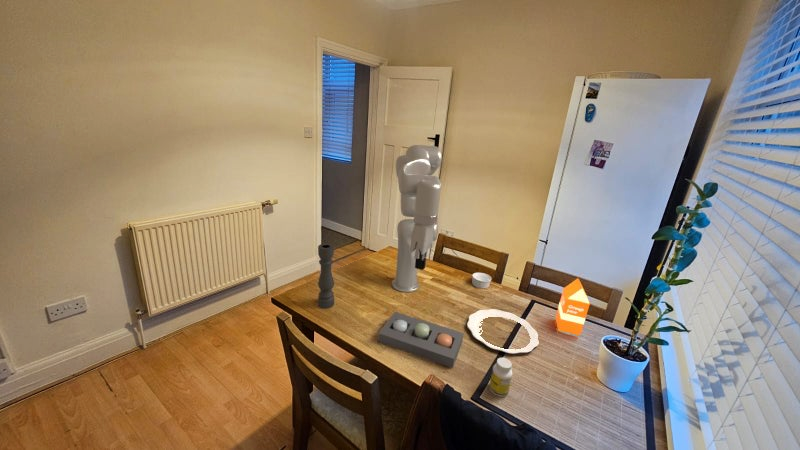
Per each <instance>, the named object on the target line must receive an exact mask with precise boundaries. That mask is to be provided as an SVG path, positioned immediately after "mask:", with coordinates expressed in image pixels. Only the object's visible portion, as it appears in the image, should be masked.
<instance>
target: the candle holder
mask: <svg viewBox="0 0 800 450" xmlns="http://www.w3.org/2000/svg"><path fill="white" fill-rule="evenodd" d="M317 250H318V251H317V255H318V257H319V259H320V260H319V259H318V260H319V261H318V264H319V265H320V274H319V278H318V282H317V285H318V288H319V290H320V292H319V293H318V296H317V297H318V298H317V305H318V307H319V308H320V309H322V310H327V309H331V308H333V307H334V306H335V296H334V294H335V293H334V291H333V288H334V286H335V281H334V278H333V277H334V276H333V273H332V265H333V264H334V260H333V259H332V258H333V257H334V254H335V246H334V244H332V243H320V244H319V245H318V246H317Z"/></svg>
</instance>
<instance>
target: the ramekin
mask: <svg viewBox="0 0 800 450" xmlns="http://www.w3.org/2000/svg"><path fill="white" fill-rule="evenodd" d="M471 278H472V280H471V283H472V285H473V287H476V288H478V289H482V288H483V289H484V288H485V289H487V288H489V287H490V285H491V282H492V276H490V275H489V274H488V273H487V274H486V273H483V272H474V273H472V275H471Z"/></svg>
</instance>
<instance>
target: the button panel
mask: <svg viewBox="0 0 800 450" xmlns="http://www.w3.org/2000/svg"><path fill="white" fill-rule="evenodd" d="M396 320H404V321H405V322H406V323H407V331H406V332H405V333H402V332H399V331H396V330H393V323H394V321H396ZM419 323H424V324H426V325H428V326H429V336H428V338H427V339H424V340H423V339H420V338H417V337H415V326H416V325H417V324H419ZM439 334H448V335H449V336H451V338H452V344H451V349H450V348H447V347H444V346H441V345H438V344H437V337H438V335H439ZM377 335H378V336H377V342H378V343H380V344H384V345H386V346H389V347H391V348H394V349H397V350H400V351H403V352H406V353H408V354H411V355H415V356H417V357H420V358H422V359H425V360H428V361H432V362H434V363H437V364H440V365H443V366H445V367H449V368H451V369H453V368H454V366H455V363H456V360H457V357H458V354H459V352H460V350H461V347H462V344H463V340H464V335H465V334H464V332H462V331H459V330H456V329H452V328H449V327H447V326H441V325H440V324H437V323H433V322H429V321H427V320H423V319H419V318H416V317H413V316H412V315H411V316H410V315H407V314H404V313H400V312H397V311H394V313H393V314H392V315H391V316H390V317H389V319H388V320H387V322H386V323H385V324H384V325H383V326H382V328H381V329H380V330H379V331H378V334H377Z"/></svg>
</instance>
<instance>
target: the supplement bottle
mask: <svg viewBox="0 0 800 450" xmlns="http://www.w3.org/2000/svg"><path fill="white" fill-rule="evenodd" d="M512 366H513V365H512V362H511V361H510V359H508V358H506V357H499V358H497V360H496V363H495V364H494V365H493V366H492V370H491V375H490V376H491V377H490V381H489V385H488V386H489V390H490V392H491V393H492V394H493V395H495V396H496V395H497V396H496V397H499V398H504V397H506V396H507V395H508V394H509V391H510V388H511V382H512V379H513V370H512Z"/></svg>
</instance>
